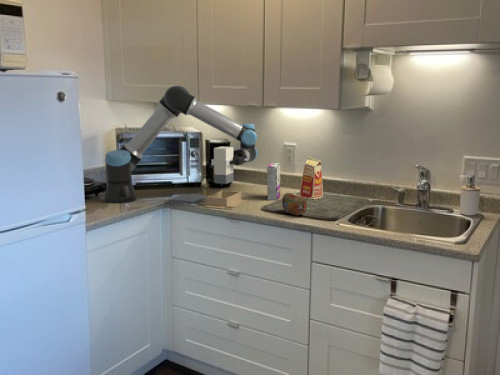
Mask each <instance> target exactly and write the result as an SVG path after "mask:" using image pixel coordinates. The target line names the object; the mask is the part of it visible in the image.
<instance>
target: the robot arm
mask: <svg viewBox="0 0 500 375" xmlns="http://www.w3.org/2000/svg"><path fill="white" fill-rule="evenodd" d="M181 114H182V115H184V116H189V115H190V116H191V117H193V118H195V119H196V120H199V121H200V122H203V123H204V124H206V125H208V126H210V127H212V128H214V129H216V130H218V131H220V132H221V133H223V134H225V135H228V136H229V137H231V138H233V139H235V140H237V141H238V142H240V143H239V148H238V149H235V150H234V149H233V160H232V159H228V160H225V166H229V165H232V164H233V166H241V165H242V166H243V165H244V164H247V163H251V162H253V161H254V160H256V159H257V157H258V156H259V155H258V153H259V152H258V150H257V148H256V143H257V141H258V135H257V133H256V126H255V124H254V123H240V122H238V121H236V120H234V119H232V118H230V117H229V116H227V115H225V114H223V113H221V112H219V111H217V110H216V109H213V108H211V107H209V105H206V104H204V103H202V102H201V101H198V100H197V97H195V96H194V95H192V94H191V93H190V92H189V91H188V90H187V88H185V87H184V86H182V85H173V86H170V87H169V88H167V90H166V91H165V93H164V95H163V96H162V97H161V99H160V100H159V101H158V107H157V108H156V110H154V112H153V114H151V116H150V117H149V118H148V119H147V120H146V121H145V122H144V124H143V125H142V126H141V128H140V129H139V130H138V131H137V132H136V133H135V135H134V136H132V138H131V139H130V141H128V142H125V143H123V144H122V145H121V146H120V148H119V149H114V150H112V151H107V153H105V157H104V158H105V159H104V161H105V172H106V173H105V175H106V187H105V191H104V195H103V200H104V202H106V203H111V204H114V203H115V204H118V203H119V204H121V203H129V202H134V201H136V200H137V193H136V191H135V188H134V185H133V180H132V179H133V178H132V177H133V176H132V175H133V174H132V171H134V170H135V169H136V168H137V165H138V164H139V163H140V162H141V161H142V160H143V154H144V153H145V151H146V150H147V149H148V148H149V146H150V145H151V144H153V142H154V140H155V139H156V138H157V137H158V136H159V134H160V133H161V132H162V131H163V130H164V128H166V127H167V125H168V124H169V123H170V122H171V120H172V119H174V118H178V117H179V116H180V115H181ZM211 166H213V167H214V156H213V158H212V159H211Z"/></svg>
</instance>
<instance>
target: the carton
mask: <svg viewBox="0 0 500 375" xmlns="http://www.w3.org/2000/svg"><path fill="white" fill-rule="evenodd" d="M206 196H207V197H206V199H205V201H204V202H202V203H200V205H201V206H203V207H204V208H211V209H219V210H221V209H224V208H233V209H234V208H236V207H238V206H240V205H242V204H244V203H246V202H248V200H247V199H244V198H243V197H242V191H236V190H234V191H233V190H220V191H217V192H215V193H213V194H210V195H206Z"/></svg>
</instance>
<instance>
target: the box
mask: <svg viewBox="0 0 500 375" xmlns="http://www.w3.org/2000/svg"><path fill="white" fill-rule="evenodd" d="M233 151H234V146H218V147H213V157H214V165H213V175H214V176H213V178H214V179H213V180H214V183H215V184H223V185H224V184H225V185H227V184H229V183H232V182H234V164H232V165H229V166H225V160H228V159H232V160H233Z"/></svg>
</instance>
